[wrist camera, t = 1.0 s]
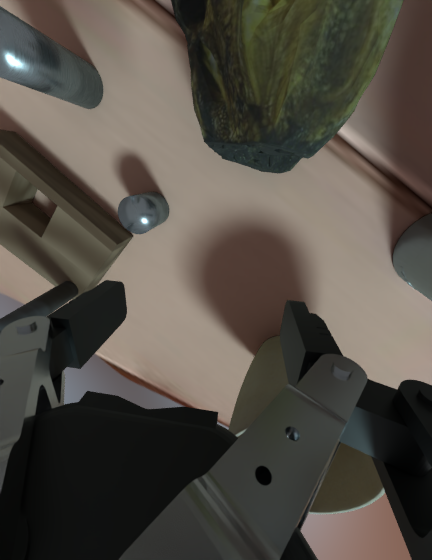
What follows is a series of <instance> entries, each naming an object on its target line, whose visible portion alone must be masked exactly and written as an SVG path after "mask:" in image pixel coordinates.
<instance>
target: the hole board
mask: <svg viewBox="0 0 432 560" xmlns="http://www.w3.org/2000/svg"><path fill="white" fill-rule="evenodd" d="M37 189H38V190H40V191H41V192H42V193H43V194H44V195H45V196H47V197H48V198H49V199H50V200H51V201H53V202H54V203H55V204H56V205H57V208H56V210H55V212H54V214H53V216H52V218H49V217H48V216H47V215H46V214H44V213H43V212H42V211H41V210H40V209H38V208H37V207H36V206H35V205H34V204H32V200H33V198H34V196H35V194H36V191H37ZM132 237H133V235H132V234H130V233H129V232H128V231H127V230H126V229H125V228H124V227H122V226H121V225H120V224H119V223H118V222H117V221H116V220H115V219H113V218H112V217H111V216H110V215H109V214H108V213H107V212H105V211H104V210H103V209H102V208H101V207H100V206H99V205H97V204H96V203H95V202H94V201H93V200H92V199H91V198H90V197H88V196H87V195H86V194H85V193H84V192H83V191H82V190H80V189H79V188H78V187H77V186H76V185H75V184H74V183H73V182H71V181H70V180H69V179H68V178H67V177H66V176H65V175H63V174H62V173H61V172H60V171H59V170H58V169H57V168H55V167H54V166H53V165H52V164H51V163H50V162H49V161H48V160H46V159H45V158H44V157H43V156H42V155H41V154H40V153H38V152H37V151H36V150H35V149H34V148H33V147H32V146H30V145H29V144H28V143H27V142H26V141H25V140H24V139H23V138H21V137H20V136H19V135H18V134H17V133H16V132H13V131H6V130H0V244H1V245H2V246H3V247H5V248H6V249H7V250H8V251H10V252H11V253H12V254H14V255H15V256H16V257H18V258H19V259H20V260H22V261H23V262H24V263H25V264H27V265H28V266H29V267H31V268H32V269H33V270H35V271H36V272H37V273H39V274H40V275H41V276H42V277H44V278H45V279H46V280H48V281H49V282H50V283H52V284H53V285H54V286H56V287H54V288H53V289H51V290H49V291H48V292H46V293H44V294H42V295H41V296H39V297H37V298H35V299H34V300H32V301H30V302H29V303H27V304H25V305H23V306H22V307H20V308H18V309H17V310H15V311H13V312H11V313H10V314H8V315H6V316H5V317H3V318H1V319H0V331H2V330H3V329H4V327H6V326H7V325H9V324H10V323H12V322H14V321H17V320H20V319H23V318H27V317H32V316H44V317H46V316H48V315H49V314H51V313H52V312H54V311H55V310H57V309H58V308H59V307H61V306H62V305H64V304H65V303H67V302H68V301H69V300H71V299H76V297H78V296H79V295H81V294H82V293H84V292H86V291H89V290H92V289H93V288H95V287H96V285H97V284H98V283H99V281H100V280H101V279H102V277H103V276H104V275H105V273H106V272H107V271H108V269H109V268H110V267H111V265H112V264H113V263H114V261H115V260H116V259H117V257H118V256H119V255H120V253H121V252H122V251H123V249H124V248H125V247H126V245H127V244H128V243H129V241H130V240H131V239H132Z"/></svg>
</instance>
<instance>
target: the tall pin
mask: <svg viewBox="0 0 432 560" xmlns="http://www.w3.org/2000/svg"><path fill="white" fill-rule="evenodd" d="M0 77H1V78H4V79H6V80H9V81H12V82H15V83H17V84H20V85H23V86H26V87H28V88H31V89H34V90H37V91H39V92H42V93H45V94H48V95H50V96H53V97H56V98H59V99H61V100H64V101H67V102H70V103H73V104H75V105H78V106H81V107H84V108H87V109H92V108H95V107H97V106H98V105H99V103H100V102H101V100H102V97H103V84H102V80H101V77H100V75H99V73H98V71H97V70H96V69H95V68H94V67H93V66H92V65H91V64H90V63H88V62H86V61H85V60H83V59H82V58H80V57H79V56H77V55H75V54H74V53H72V52H71V51H69V50H68V49H66V48H65V47H63V46H61V45H60V44H58V43H57V42H55V41H54V40H52V39H51V38H49V37H47V36H46V35H44V34H43V33H41V32H40V31H38V30H36V29H35V28H33V27H32V26H30V25H29V24H27V23H26V22H24V21H22V20H21V19H19V18H18V17H16V16H15V15H13V14H11V13H10V12H8V11H7V10H5V9H4V8H2V7H1V6H0Z"/></svg>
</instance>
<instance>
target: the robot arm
mask: <svg viewBox="0 0 432 560" xmlns="http://www.w3.org/2000/svg"><path fill="white" fill-rule="evenodd" d="M393 265H394V268H395V271H396V272H397V274H398V275H399V276H400V277H401V278H402V279H403V280H404V281H406V282H407V283H408V284H409V285H410V286H411V287H413V288H414V289H416V290H417V291H419V292H420V293H422V294H423V295H424V296H425V297H427V298H428V299H430V300H431V301H432V213H431V214H429V215H426V216H424V217H422V218H421V219H419V220H418V221H417V222H415V223H414V224H412V225H411V226H410V227H409V228H408V229H407V230H406V231H405V232H404V233H403V235H402V236H401V237H400V239H399V240H398V242H397V244H396V246H395V249H394V253H393ZM126 314H127V306H126V297H125V288H124V284H123V283H122V282H118V281H109V280H106V281H104V282H102V283H101V284H99V285H98V286H96V287H95V288H93V289H92V290H89V291H86V292H84V293H82V294H81V295H79V296H78V297H76V299H73V300H71V301H70V302H69V304H68V303H67V304H65V305H64V306H62V307H61V308H59V309H58V310H56V311H55V312H53V313H52V314H50V315H49V316H47V317H44V316H32V317H27V318H23V319H20V320H17V321H14V322H12V323H10V324H9V325H7V326H6V327H4V329H3V330H2V331H0V560H318V559H317V557H316V556H315V554H314V553H313V551H312V549H311V548H310V546H309V544H308V543H307V541H306V540H305V538H304V536H303V535H302V533H301V528H302V526H303V524H304V522H305V520H306V518H307V515H308V513H309V511H310V509H311V507H312V504H313V502H314V500H315V498H316V495H317V493H318V491H319V489H320V487H321V484H322V482H323V480H324V478H325V476H326V474H327V472H328V469H329V467H330V465H331V463H332V461H333V459H334V457H335V455H336V452H337V450H338V448H339V446H340V444H341V442H342V443H344V444H346V445H348V446H350V447H352V448H355V449H357V450H359V451H361V452H363V453H365V454H367V455H370V456H371V457H372V460H373V462H374V465H375V467H376V470H377V472H378V475H379V477H380V480H381V483H382V485H383V488H384V490H385V493H386V495H387V497H388V500H389V503H390V505H391V508H392V510H393V513H394V515H395V518H396V520H397V523H398V526H399V528H400V531H401V533H402V536H403V538H404V541H405V543H406V546H407V548H408V551H409V553H410V556H411V558H412V560H432V385H429V384H427V383H424V382H421V381H417V380H405V381H402V382H401V384H400V386H399V388H398V390H397V389H394V388H391V387H388V386H385V385H383V384H380V383H377V382H374V381H372V380H369V379H367V375H366V373H365V371H364V370H363V369H362V367H360V366H359V365H358V364H357V363H356V362H354V361H353V360H351V359H349V358H347V357H344V356H343V355H342V353H341V351H340V349H339V347H338V346H337V344H336V342H335V340H334V338H333V337H332V336H331V333H330V331H329V330H328V328H327V326H326V324H325V322H324V321H323V320H322V319H321V318H320V317H319V316H317V315H316V314H312V313H309V311H308V309H307V307H306V304H305V303H304V302H299V301H290V300H287V302H286V305H285V309H284V314H283V319H282V324H281V330H280V343H281V348H282V353H283V358H284V363H285V368H286V373H287V378H288V383H289V384H288V385H286V386H285V387H284V388H283V389H282V391H281V392H280V393H279V394H278V395H277V396H276V397H275V398H274V399H273V401H272V402H271V403H270V404H269V405H268V406H267V407H266V408H265V409H264V410H263V412H262V413H261V414H260V415H259V416H258V417H257V418H256V419H255V420H254V422H253V423H252V424H251V425H250V426H249V427H248V428H247V429H246V430H245V432H244V433H243V434H242V435H241V436H240V437H239V438H238V437H237V436H236V435H234V434H233V433H232V432H231V431H229V430H227V429H226V428H224V427H222V426H220V425H218V424H217V418H218V412H214V411H208V410H202V409H195V408H189V407H175V408H162V409H145V408H142V407H140V406H138V405H136V404H134V403H132V402H130V401H127V400H125V399H123V398H121V397H119V396H115V395H109V394H102V393H96V392H90V391H87V392H86V393H85V395H84V396H83V397H82V398H81V400H80V401H79V402H77V403H70V404H65V405H64V389H65V388H64V387H65V374H64V369H65V368H66V367H72V368H78V369H81V367H82V366H83V365H84V364H85V363H86V362H87V361H88V360H89V359H90V357H92V355H93V354H94V353H95V352H96V351H97V350H98V349H99V348H100V347H101V346H102V344H103V343H104V342H105V341H106V340H107V339H108V338H109V337H110V336H111V335H112V334H113V332H114V331H115V330H116V329H117V328H118V327H119V326H120V325H121V324H122V323H123V321H124V320H125V318H126Z"/></svg>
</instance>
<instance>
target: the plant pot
mask: <svg viewBox="0 0 432 560" xmlns="http://www.w3.org/2000/svg"><path fill="white" fill-rule="evenodd" d="M288 384H289V383H288V378H287V373H286V368H285V363H284V358H283V353H282V348H281V343H280V336H275V337H272V338H270V339H268V340H266V341H265V342H264V343H263V344H262V346H261V347H260V349H259V350H258V352H257V354H256V356H255V357H254V359H253V361H252V363H251V365H250V367H249V370H248V372H247V374H246V377H245V379H244V382H243V384H242V387H241V389H240V392H239V395H238V398H237V401H236V404H235V408H234V411H233V415H232V418H231V422H230V426H229V431H231V432H232V433H233V434H234V435H236V436H237V437H238V438H239V437H240V436H241V435H242V434H243V433H244V432H245V430H246V429H247V428H248V427H249V426H250V425H251V424H252V423H253V422H254V420H255V419H256V418H257V417H258V416H259V415H260V414H261V413H262V412H263V410H264V409H265V408H266V407H267V406H268V405H269V404H270V403H271V402H272V401H273V399H274V398H275V397H276V396H277V395H278V394H279V393H280V392H281V391H282V389H283V388H284V387H285V386H286V385H288ZM384 493H385V490H384V488H383V485H382V483H381V480H380V477H379V475H378V472H377V470H376V467H375V465H374V462H373V460H372V457H371V456H370V455H367V454H365V453H363V452H361V451H359V450H357V449H355V448H352V447H350V446H348V445H346V444H344V443H342V442H341V444H340V446H339V448H338V450H337V452H336V455H335V457H334V459H333V461H332V463H331V465H330V467H329V469H328V472H327V474H326V476H325V478H324V480H323V482H322V484H321V487H320V489H319V491H318V493H317V495H316V498H315V500H314V502H313V504H312V507H311V509H310V511H309V514H335V513H343V512H349V511H353V510H356V509H360V508H362V507H365V506H367V505H369V504H371V503H373V502H374V501H376V500H377V499H379V498H380V497H381V496H382V495H383V494H384Z"/></svg>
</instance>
